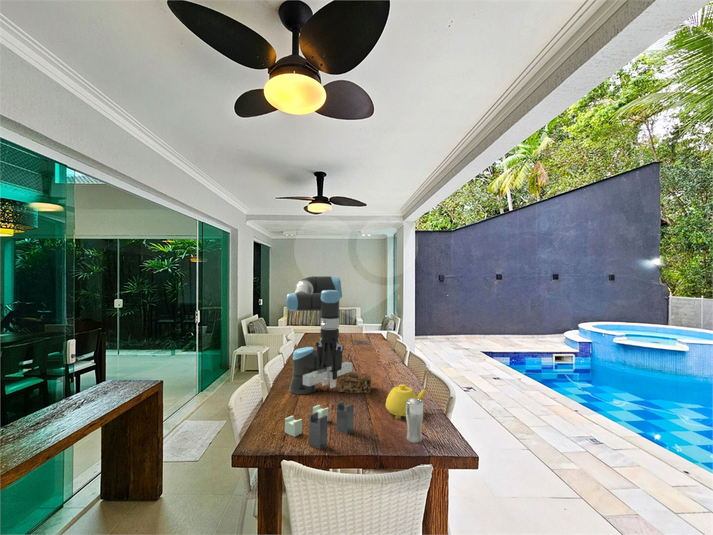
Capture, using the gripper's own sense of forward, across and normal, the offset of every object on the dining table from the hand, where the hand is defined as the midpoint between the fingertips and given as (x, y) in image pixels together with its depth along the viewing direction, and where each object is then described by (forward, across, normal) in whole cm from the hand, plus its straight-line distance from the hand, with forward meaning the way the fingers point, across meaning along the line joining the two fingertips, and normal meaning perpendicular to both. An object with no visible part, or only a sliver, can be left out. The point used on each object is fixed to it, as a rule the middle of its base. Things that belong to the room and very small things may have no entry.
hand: (329, 385), depth 142 cm
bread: (+21, -26, +50) cm, 61 cm away
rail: (-4, 0, 0) cm, 4 cm away
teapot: (+20, +14, +39) cm, 46 cm away
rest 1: (+20, -13, -7) cm, 25 cm away
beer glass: (+20, +29, +19) cm, 40 cm away
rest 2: (+20, -12, +9) cm, 25 cm away
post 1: (+20, +2, -9) cm, 22 cm away
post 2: (+20, +3, +7) cm, 21 cm away
